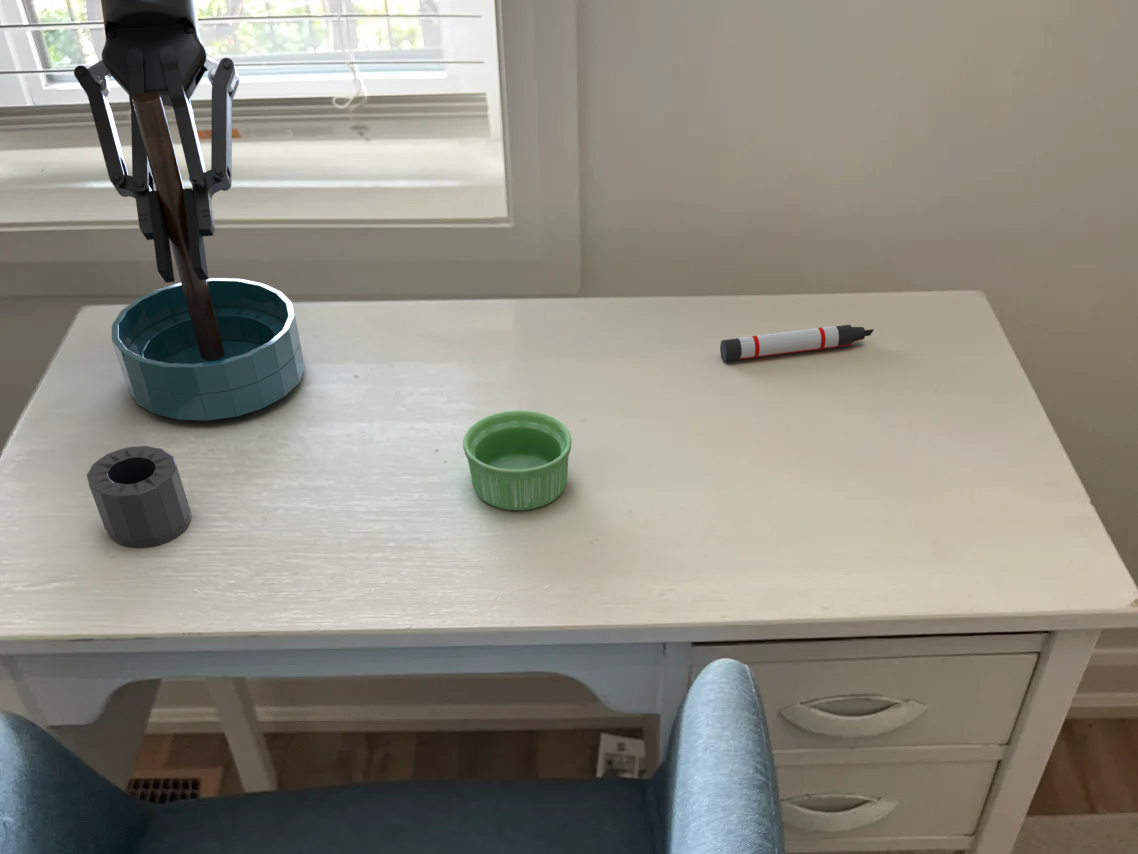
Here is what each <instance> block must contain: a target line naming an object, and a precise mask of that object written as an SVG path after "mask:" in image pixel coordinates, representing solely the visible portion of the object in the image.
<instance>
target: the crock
mask: <svg viewBox="0 0 1138 854" xmlns="http://www.w3.org/2000/svg"><path fill="white" fill-rule="evenodd" d="M86 478H87V482H88V487H89V489H90V492H91V494H92V498H93V500H94V502H95V506H96V508H97V510H98V513H99V517H100V519H101V522H102V524H103V527H104V529H105V531H106V534H107V535H108V537H109V538H110V539H111V540H112V541H113V542H115V543H117V544H118V545H121V546H125V547H128V548H149V547H155V546H160V545H163V544H165V543H168V542H171V541H172V540H174V539H175V538H177V537H179V536H180V535H182V534H183V533H184V532H185V531H186V530H187V528H188V527H189V526H190V523H191V520H192V513H191V509H190V504H189V501H188V498H187V495H186V492H185V488H184V485H183V482H182V479H181V476H180V472H179V469H178V465H177V462H176V459H175V457H174V455H173V454H171V453H169V452H168V451H166V450H165V449H163V448H160V447H155V446H151V445H150V446H149V445H139V446H138V445H137V446H127V447H123V448H120V449H117V450H115V451H114V450H113V451H112V452H108V453H106V454H105V455H103V456H102V457H100V458H99V459H98V460H96V461H94V462H93V463H92V465H91V466H90V468H89V470H88V471H87V473H86Z"/></svg>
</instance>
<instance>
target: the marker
mask: <svg viewBox="0 0 1138 854" xmlns="http://www.w3.org/2000/svg"><path fill="white" fill-rule="evenodd" d="M874 331H875V329H874V328H871V329H866V328H865V327H863V326H852V325H851V324H843V325H831V326H822V327H814V328H805V329H799V330H789V331H782V332H773V333H766V334H758V335H748V336H740V337H736V338H729V339H721V341H720V345H719V352H720V357H721V360H722V361H723V362H726V361H734V360H735V361H736V360H746V359H754V358H763V357H769V356H779V355H786V354H794V353H802V352H810V351H818V350H825V349H834V348H837V347H848V346H851V345H853V343H855V342H858V341H863V340H865V338H866V337H870V336H871V335H872V333H874Z"/></svg>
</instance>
